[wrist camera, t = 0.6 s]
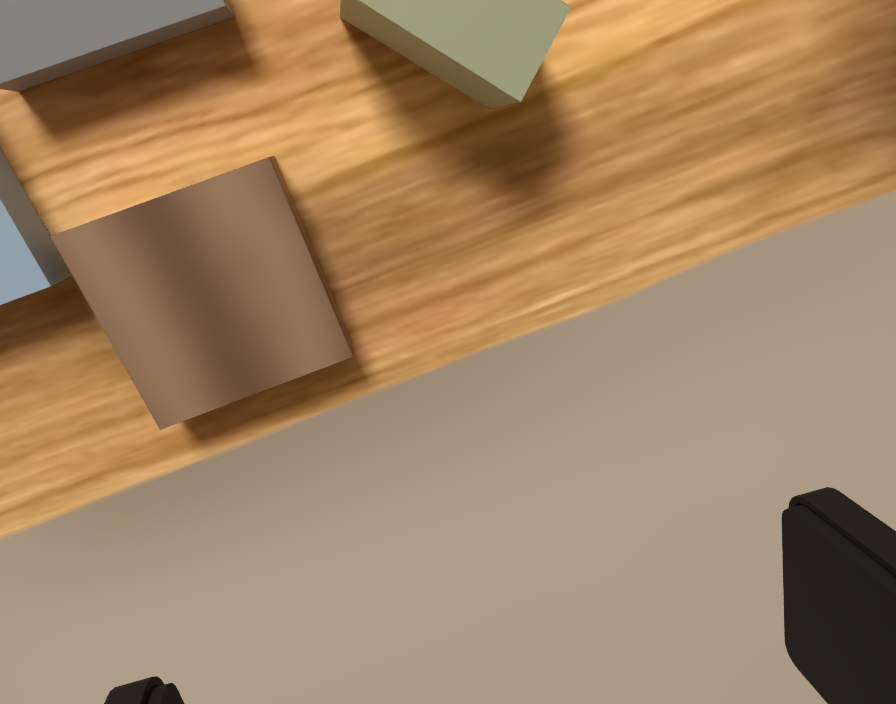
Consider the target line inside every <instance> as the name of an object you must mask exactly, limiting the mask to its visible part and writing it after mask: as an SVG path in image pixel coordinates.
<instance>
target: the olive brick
mask: <svg viewBox="0 0 896 704" xmlns="http://www.w3.org/2000/svg"><path fill="white" fill-rule="evenodd" d="M570 9H571V6H569V5H568V4H566V3H565V2H563V1H562V0H341V9H340V18H341V19H343V20H345V21H346V22H348V23H350V24H351V25H353V26H354V27H356V28H358V29H359V30H361V31H363V32H364V33H366V34H367V35H369V36H371V37H372V38H374V39H376V40H377V41H379V42H380V43H382V44H384V45H385V46H387V47H389V48H390V49H392V50H394V51H395V52H397V53H398V54H400V55H402V56H403V57H405V58H407V59H408V60H410V61H411V62H413V63H415V64H416V65H418V66H420V67H421V68H423V69H424V70H426V71H428V72H429V73H431V74H433V75H434V76H436V77H438V78H439V79H441V80H442V81H444V82H446V83H447V84H449V85H451V86H452V87H454V88H455V89H457V90H459V91H460V92H462V93H464V94H465V95H467V96H468V97H470V98H472V99H473V100H475V101H477V102H478V103H480V104H482V105H483V106H485V107H486V108H488V109H490V108H495V107H500V106H504V105H509V104H514V103H519V102H521V101H522V99H523V97H524V95H525V93H526V91H527V90H528V88H529V86H530V84H531V82H532V80H533V78H534V76H535V75H536V73H537V71H538V69H539V67H540V65H541V63H542V61H543V59H544V58H545V56H546V54H547V52H548V50H549V48H550V46H551V44H552V43H553V41H554V39H555V37H556V35H557V33H558V31H559V29H560V27H561V26H562V24H563V22H564V20H565V18H566V16H567V14H568V12H569V11H570Z"/></svg>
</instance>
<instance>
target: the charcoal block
mask: <svg viewBox="0 0 896 704" xmlns="http://www.w3.org/2000/svg"><path fill="white" fill-rule="evenodd" d="M232 17H235V16H234V13H233V11H232V8H231V6H230V3H229V1H228V0H0V89H4V90H11V91H18V92H19V91H22V90H25V89H28V88H30V87H33V86H36V85H39V84H42V83H45V82H48V81H51V80H54V79H56V78H59V77H62V76H65V75H68V74H71V73H74V72H77V71H80V70H82V69H85V68H88V67H91V66H94V65H97V64H100V63H103V62H105V61H108V60H111V59H114V58H117V57H120V56H123V55H126V54H129V53H131V52H134V51H137V50H140V49H143V48H146V47H149V46H152V45H155V44H157V43H160V42H163V41H166V40H169V39H172V38H175V37H178V36H180V35H183V34H186V33H189V32H192V31H195V30H198V29H201V28H204V27H206V26H209V25H212V24H215V23H218V22H221V21H224V20H227V19H230V18H232Z"/></svg>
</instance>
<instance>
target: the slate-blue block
mask: <svg viewBox="0 0 896 704" xmlns="http://www.w3.org/2000/svg"><path fill="white" fill-rule="evenodd" d="M71 276H73V275H72V273H71V272H70V270H69V268H68V266H67V265H66V263H65V261H64V259H63V258H62V256H61V254H60V252H59V251H58V249H57V247H56V245H55V244H54V242H53V240H52V238H51V236H50V234H49V232H48V231H47V229H46V227H45V225H44V223H43V222H42V220H41V218H40V216H39V215H38V213H37V211H36V209H35V208H34V206H33V204H32V202H31V201H30V199H29V197H28V195H27V193H26V192H25V190H24V188H23V186H22V185H21V183H20V181H19V179H18V178H17V176H16V174H15V172H14V171H13V169H12V167H11V165H10V163H9V162H8V160H7V158H6V156H5V155H4V153H3V151H2V149H1V148H0V305H2V304H4V303H7V302H10V301H12V300H15V299H18V298H21V297H23V296H26V295H29V294H32V293H34V292H37V291H40V290H42V289H45V288H48V287H51V286H53V285H55V284H57V283H59V282H61V281H63V280H65V279H67V278H69V277H71Z"/></svg>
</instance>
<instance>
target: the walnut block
mask: <svg viewBox="0 0 896 704" xmlns="http://www.w3.org/2000/svg"><path fill="white" fill-rule="evenodd" d="M51 238H52V240H53V242H54V244H55V245H56V247H57V249H58V251H59V252H60V254H61V256H62V258H63V259H64V261H65V263H66V265H67V266H68V268H69V270H70V272H71V273H72V275H73V277H74V279H75V281H76V282H77V284H78V286H79V288H80V289H81V291H82V293H83V295H84V296H85V298H86V300H87V302H88V303H89V305H90V307H91V309H92V311H93V312H94V314H95V316H96V318H97V319H98V321H99V323H100V325H101V326H102V328H103V330H104V332H105V333H106V335H107V337H108V339H109V341H110V342H111V344H112V346H113V348H114V349H115V351H116V353H117V355H118V356H119V358H120V360H121V362H122V363H123V365H124V367H125V369H126V370H127V372H128V374H129V376H130V378H131V379H132V381H133V383H134V385H135V386H136V388H137V390H138V392H139V393H140V395H141V397H142V399H143V400H144V402H145V404H146V406H147V408H148V409H149V411H150V413H151V415H152V416H153V418H154V420H155V422H156V423H157V425H158V427H159V429H160V430H161V429H164V428H166V427H169V426H172V425H174V424H177V423H180V422H182V421H185V420H187V419H190V418H193V417H195V416H198V415H201V414H203V413H206V412H209V411H211V410H214V409H217V408H219V407H222V406H224V405H227V404H230V403H232V402H235V401H238V400H240V399H243V398H246V397H248V396H251V395H253V394H256V393H259V392H261V391H264V390H267V389H269V388H272V387H275V386H277V385H280V384H282V383H285V382H288V381H290V380H293V379H296V378H298V377H301V376H304V375H306V374H309V373H311V372H314V371H317V370H319V369H322V368H325V367H327V366H330V365H333V364H335V363H338V362H341V361H343V360H346V359H348V358H351V357H353V352H352V341H351V339H350V336H349V334H348V332H347V329H346V327H345V324H344V322H343V320H342V317H341V315H340V313H339V310H338V308H337V305H336V303H335V301H334V298H333V296H332V293H331V291H330V289H329V286H328V284H327V281H326V279H325V277H324V274H323V272H322V269H321V267H320V265H319V262H318V260H317V258H316V255H315V253H314V250H313V248H312V246H311V243H310V241H309V238H308V236H307V234H306V231H305V229H304V226H303V224H302V222H301V219H300V217H299V214H298V212H297V210H296V207H295V205H294V203H293V200H292V198H291V195H290V193H289V191H288V188H287V186H286V183H285V181H284V179H283V176H282V174H281V171H280V169H279V167H278V164H277V162H276V160H275V157H274V156H272V157H268V158H266V159H263V160H260V161H257V162H255V163H252V164H249V165H246V166H244V167H241V168H238V169H235V170H233V171H230V172H227V173H224V174H221V175H219V176H216V177H213V178H210V179H208V180H205V181H202V182H199V183H197V184H194V185H191V186H188V187H185V188H183V189H180V190H177V191H174V192H172V193H169V194H166V195H163V196H161V197H158V198H155V199H152V200H150V201H147V202H144V203H141V204H138V205H136V206H133V207H130V208H127V209H125V210H122V211H119V212H116V213H114V214H111V215H108V216H105V217H102V218H100V219H97V220H94V221H91V222H89V223H86V224H83V225H80V226H78V227H75V228H72V229H69V230H67V231H64V232H61V233H58V234H55V235H53V236H51Z"/></svg>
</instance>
